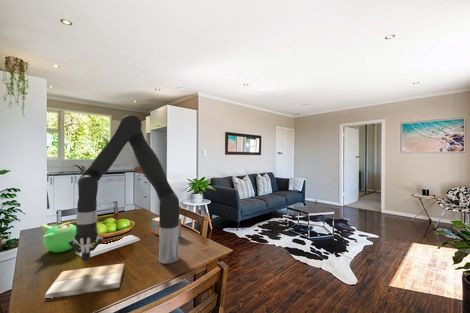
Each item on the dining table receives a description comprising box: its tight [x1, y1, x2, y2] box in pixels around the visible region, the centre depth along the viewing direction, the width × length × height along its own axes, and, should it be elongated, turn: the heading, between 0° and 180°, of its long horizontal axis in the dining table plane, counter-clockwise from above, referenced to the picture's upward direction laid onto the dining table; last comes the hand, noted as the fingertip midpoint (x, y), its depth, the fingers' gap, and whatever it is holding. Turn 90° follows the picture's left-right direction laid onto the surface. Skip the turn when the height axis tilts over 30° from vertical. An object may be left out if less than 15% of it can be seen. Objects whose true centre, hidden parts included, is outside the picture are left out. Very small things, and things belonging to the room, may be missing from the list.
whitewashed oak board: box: [44, 272, 123, 299], centre depth 89 cm, size 24×8×2 cm, turn 110°
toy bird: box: [39, 222, 79, 253], centre depth 121 cm, size 18×17×15 cm
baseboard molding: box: [74, 234, 141, 259], centre depth 127 cm, size 31×3×12 cm
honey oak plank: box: [54, 263, 125, 282], centre depth 97 cm, size 24×8×2 cm, turn 110°
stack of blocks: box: [150, 216, 182, 238], centre depth 147 cm, size 21×6×12 cm, turn 60°
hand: (85, 260), depth 98 cm, fingers closed
